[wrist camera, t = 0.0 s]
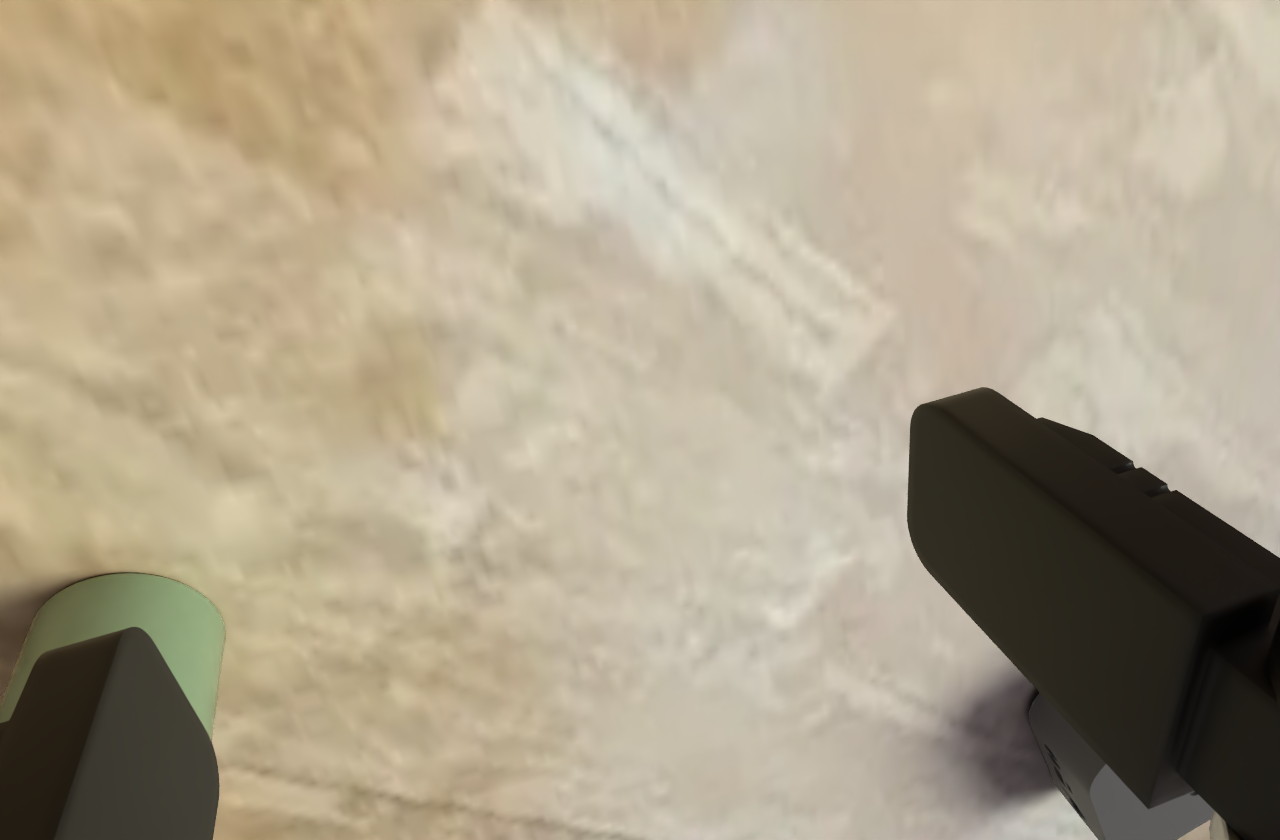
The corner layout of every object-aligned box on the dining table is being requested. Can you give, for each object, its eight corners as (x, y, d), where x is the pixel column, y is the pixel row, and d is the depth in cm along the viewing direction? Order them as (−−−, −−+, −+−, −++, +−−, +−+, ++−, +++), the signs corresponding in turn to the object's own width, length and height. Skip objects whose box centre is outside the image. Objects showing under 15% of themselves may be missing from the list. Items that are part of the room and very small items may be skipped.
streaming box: (1255, 680, 55) (1331, 747, 51) (1059, 798, 55) (1118, 874, 51) (1246, 550, 46) (1337, 619, 42) (1014, 693, 47) (1081, 773, 43)
